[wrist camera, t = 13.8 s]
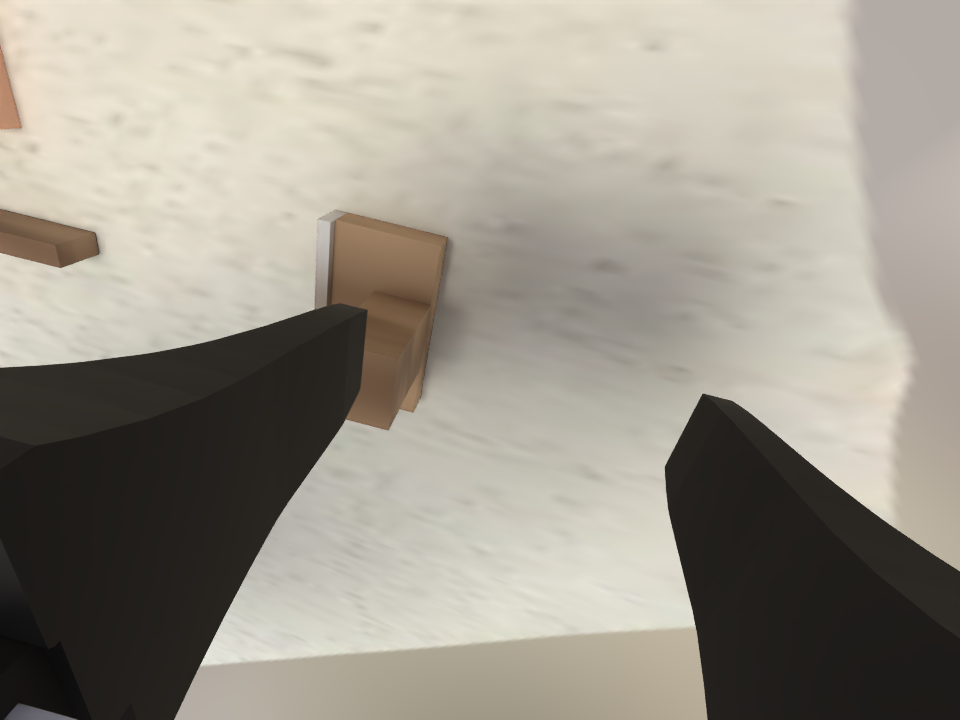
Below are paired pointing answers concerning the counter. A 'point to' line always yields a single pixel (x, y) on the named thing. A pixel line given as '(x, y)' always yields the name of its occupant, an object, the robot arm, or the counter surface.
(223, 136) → the counter surface
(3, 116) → the terracotta tile
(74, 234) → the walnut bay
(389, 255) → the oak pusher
